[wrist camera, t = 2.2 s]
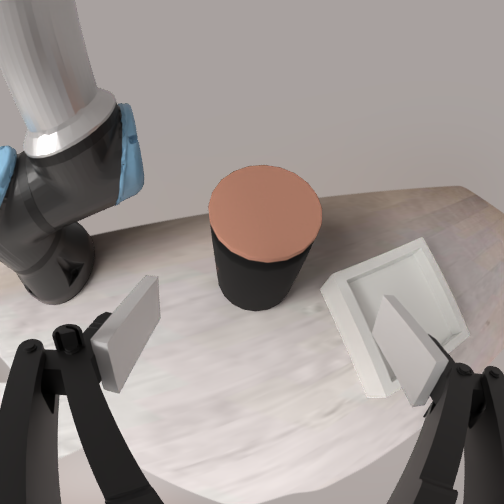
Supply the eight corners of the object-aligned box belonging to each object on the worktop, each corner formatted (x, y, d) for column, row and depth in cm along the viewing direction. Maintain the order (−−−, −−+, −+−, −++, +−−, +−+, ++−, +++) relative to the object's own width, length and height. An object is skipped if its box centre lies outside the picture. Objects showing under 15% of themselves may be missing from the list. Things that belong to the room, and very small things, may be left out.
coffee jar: (246, 233, 46) (252, 150, 30) (303, 271, 43) (341, 199, 27) (203, 285, 41) (183, 216, 25) (263, 328, 39) (284, 283, 23)
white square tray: (319, 290, 42) (332, 274, 37) (403, 254, 46) (422, 236, 40) (365, 397, 35) (386, 397, 29) (446, 343, 39) (470, 335, 33)
